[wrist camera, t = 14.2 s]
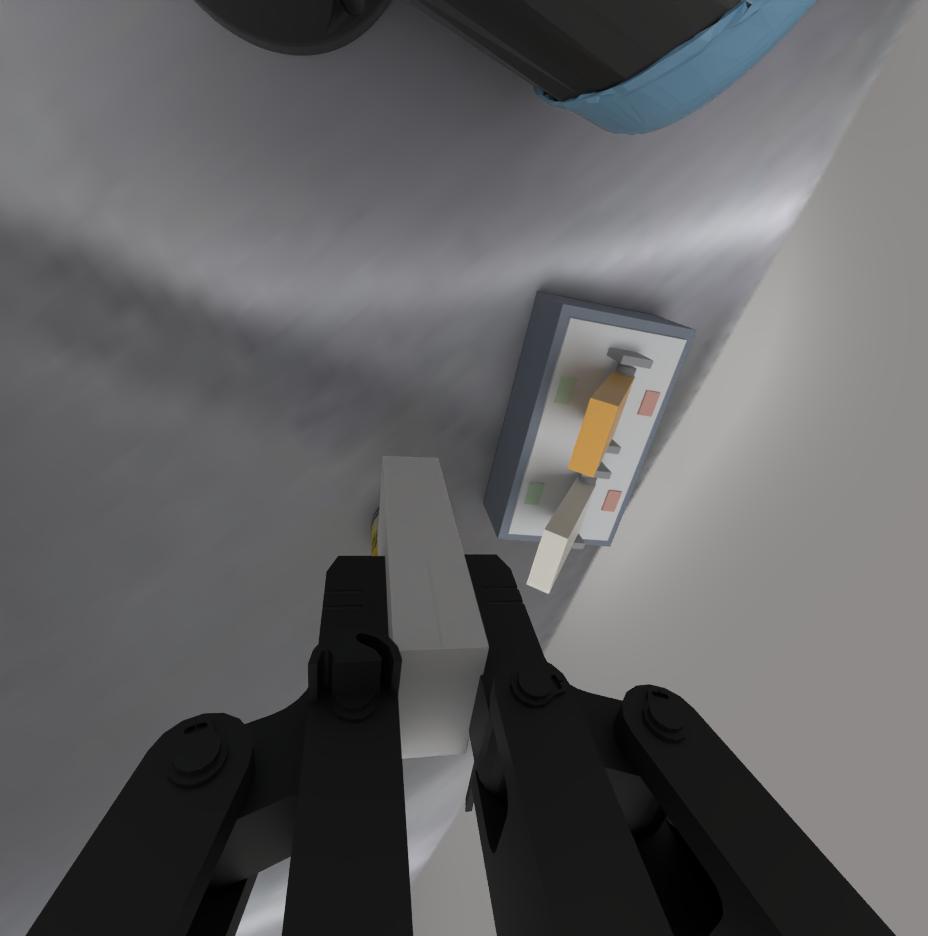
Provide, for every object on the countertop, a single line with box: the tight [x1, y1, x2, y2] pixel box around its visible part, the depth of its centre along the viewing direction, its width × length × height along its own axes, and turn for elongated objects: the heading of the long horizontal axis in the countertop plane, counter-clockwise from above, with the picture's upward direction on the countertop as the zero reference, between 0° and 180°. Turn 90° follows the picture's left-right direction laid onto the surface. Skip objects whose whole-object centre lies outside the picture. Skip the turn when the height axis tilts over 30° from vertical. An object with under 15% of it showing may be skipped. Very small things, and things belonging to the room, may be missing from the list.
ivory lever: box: [527, 475, 597, 594], centre depth 37 cm, size 6×2×11 cm
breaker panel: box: [484, 291, 697, 549], centre depth 41 cm, size 20×11×9 cm, turn 168°
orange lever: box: [567, 363, 637, 477], centre depth 33 cm, size 6×2×11 cm
